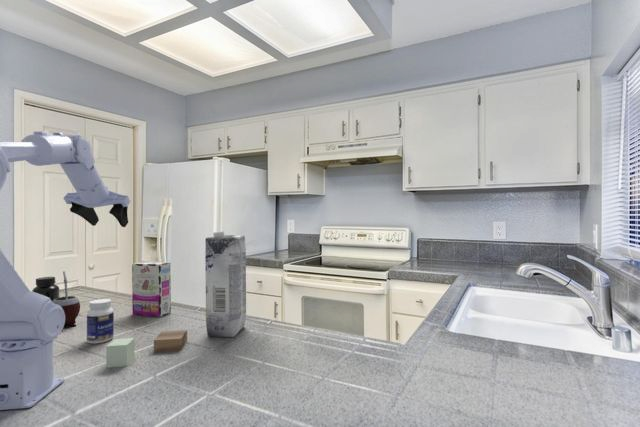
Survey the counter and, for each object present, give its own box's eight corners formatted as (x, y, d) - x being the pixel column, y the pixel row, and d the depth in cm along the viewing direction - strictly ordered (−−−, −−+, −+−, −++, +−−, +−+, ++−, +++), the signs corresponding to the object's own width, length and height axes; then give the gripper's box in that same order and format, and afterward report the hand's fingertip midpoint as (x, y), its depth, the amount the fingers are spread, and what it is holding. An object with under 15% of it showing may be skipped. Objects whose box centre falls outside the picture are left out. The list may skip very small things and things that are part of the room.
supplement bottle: (36, 314, 110) (36, 277, 110) (62, 311, 113) (62, 275, 113) (28, 320, 104) (28, 280, 104) (56, 317, 106) (56, 278, 107)
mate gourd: (65, 330, 94) (64, 276, 94) (40, 329, 95) (40, 275, 95) (87, 322, 101) (87, 271, 101) (64, 321, 102) (64, 271, 102)
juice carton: (248, 325, 96) (248, 230, 96) (236, 339, 86) (235, 232, 86) (218, 325, 97) (217, 230, 97) (202, 338, 87) (201, 232, 87)
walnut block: (181, 351, 79) (181, 338, 79) (153, 353, 79) (153, 340, 79) (187, 341, 85) (187, 329, 85) (162, 343, 85) (161, 331, 85)
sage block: (127, 366, 71) (126, 344, 71) (106, 367, 71) (106, 346, 71) (134, 358, 75) (134, 338, 75) (115, 359, 75) (115, 339, 75)
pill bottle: (100, 345, 83) (100, 304, 83) (81, 343, 84) (80, 303, 84) (119, 336, 89) (118, 298, 89) (100, 335, 90) (100, 297, 90)
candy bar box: (171, 313, 110) (171, 262, 110) (160, 317, 105) (160, 264, 105) (143, 310, 113) (143, 261, 113) (131, 314, 108) (131, 263, 108)
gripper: (126, 173, 81) (144, 214, 91) (65, 170, 81) (90, 211, 91) (113, 192, 76) (133, 233, 86) (48, 189, 76) (76, 231, 86)
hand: (110, 223), depth 88 cm, fingers open, 7 cm apart
